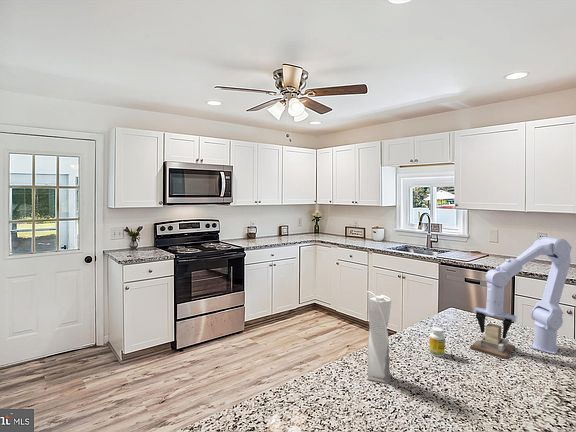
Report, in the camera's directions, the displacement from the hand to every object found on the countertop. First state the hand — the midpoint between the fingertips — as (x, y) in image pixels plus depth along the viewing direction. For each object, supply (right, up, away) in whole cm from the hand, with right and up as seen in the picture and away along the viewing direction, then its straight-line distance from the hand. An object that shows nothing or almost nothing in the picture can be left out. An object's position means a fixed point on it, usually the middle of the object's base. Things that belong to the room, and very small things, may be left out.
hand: (493, 334), depth 140 cm
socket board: (0, -5, 0) cm, 5 cm away
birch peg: (0, -4, 0) cm, 4 cm away
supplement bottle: (-24, -6, -5) cm, 26 cm away
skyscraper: (-51, -6, -22) cm, 56 cm away
